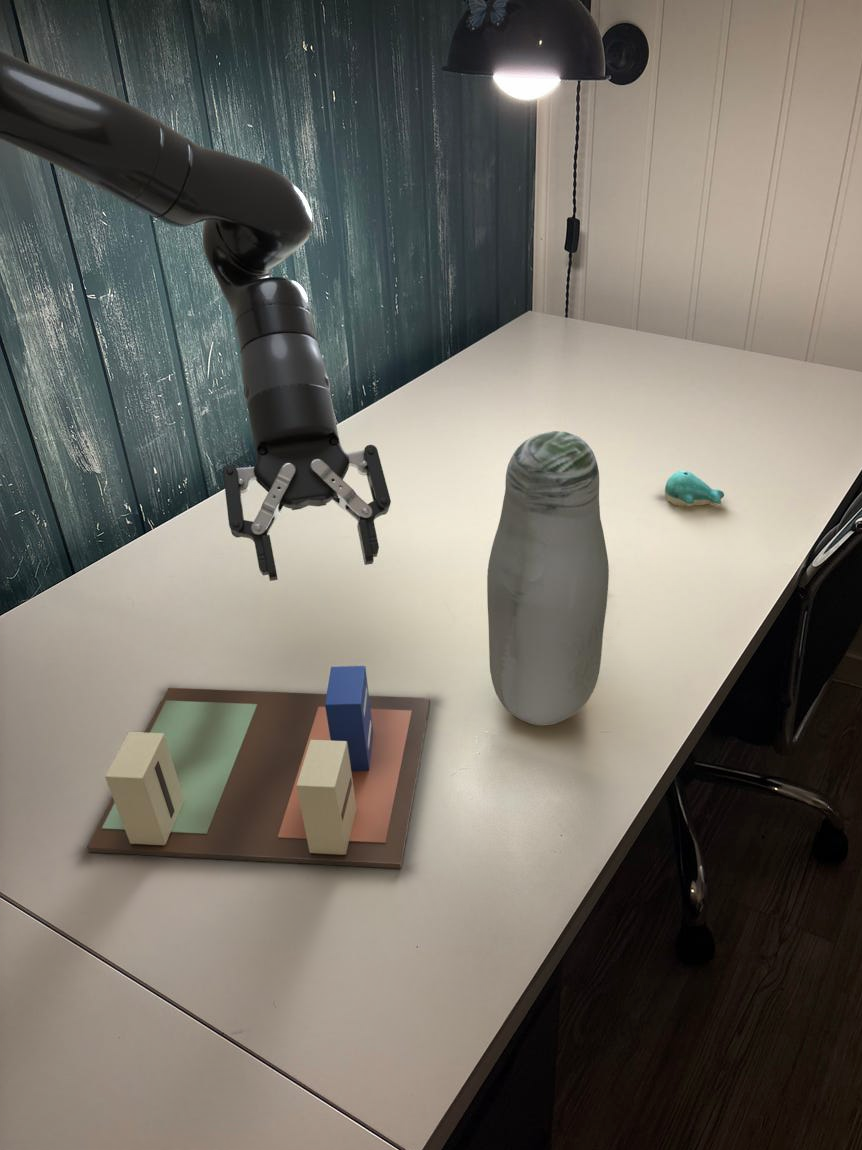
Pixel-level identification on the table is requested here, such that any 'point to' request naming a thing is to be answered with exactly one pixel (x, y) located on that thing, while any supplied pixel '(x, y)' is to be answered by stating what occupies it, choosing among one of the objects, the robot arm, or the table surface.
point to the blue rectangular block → (350, 713)
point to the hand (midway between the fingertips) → (321, 570)
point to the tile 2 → (327, 796)
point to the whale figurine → (690, 490)
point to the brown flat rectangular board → (274, 778)
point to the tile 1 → (145, 788)
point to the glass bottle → (548, 581)
